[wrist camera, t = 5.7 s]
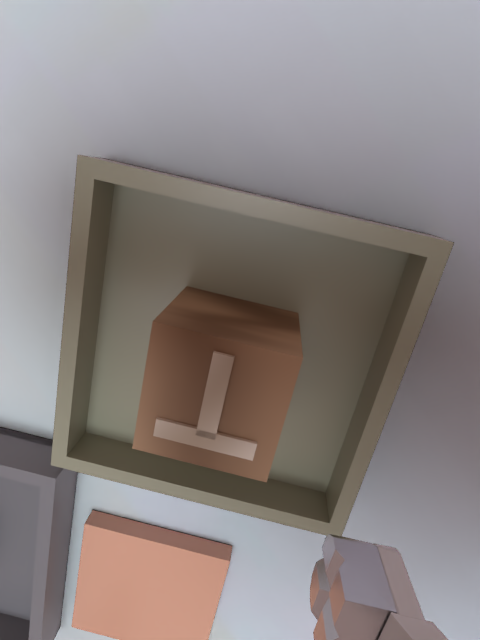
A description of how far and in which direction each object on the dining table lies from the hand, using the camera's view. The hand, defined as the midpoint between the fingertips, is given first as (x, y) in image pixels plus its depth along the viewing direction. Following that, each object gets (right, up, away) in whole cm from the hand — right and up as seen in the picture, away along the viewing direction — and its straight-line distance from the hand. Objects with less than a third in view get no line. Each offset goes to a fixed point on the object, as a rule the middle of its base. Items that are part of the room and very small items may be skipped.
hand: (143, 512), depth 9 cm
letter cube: (+2, +3, +10) cm, 10 cm away
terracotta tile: (-3, -11, +15) cm, 19 cm away
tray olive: (+2, +3, +10) cm, 11 cm away
